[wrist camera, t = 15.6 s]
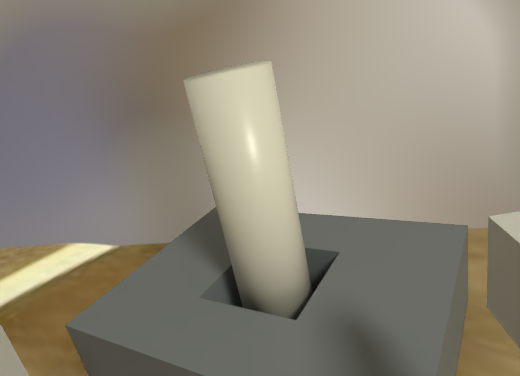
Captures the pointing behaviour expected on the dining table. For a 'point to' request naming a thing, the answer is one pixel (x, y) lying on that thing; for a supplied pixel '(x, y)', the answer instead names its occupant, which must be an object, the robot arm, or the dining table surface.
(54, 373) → the dining table surface
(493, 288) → the robot arm
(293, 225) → the pin
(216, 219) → the hole block
